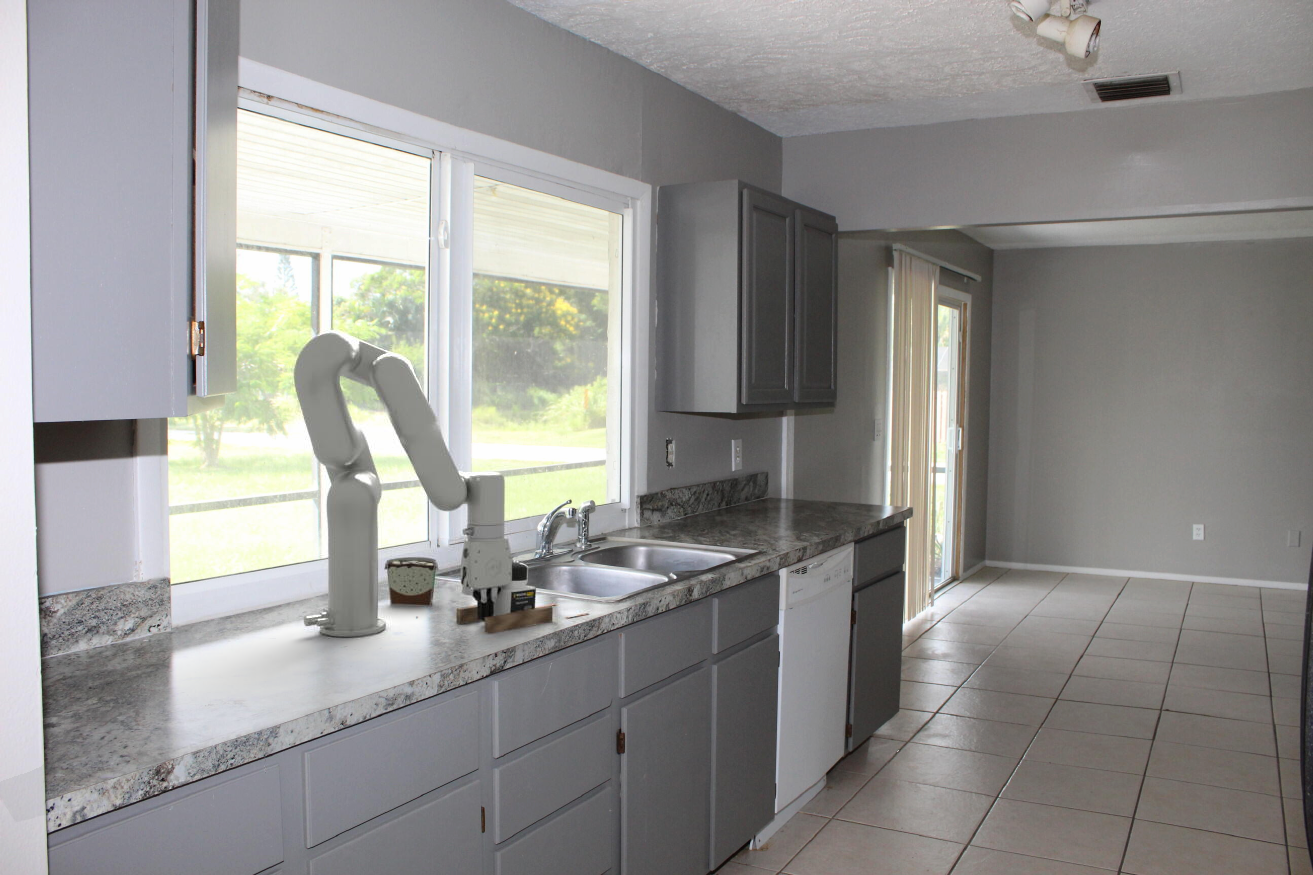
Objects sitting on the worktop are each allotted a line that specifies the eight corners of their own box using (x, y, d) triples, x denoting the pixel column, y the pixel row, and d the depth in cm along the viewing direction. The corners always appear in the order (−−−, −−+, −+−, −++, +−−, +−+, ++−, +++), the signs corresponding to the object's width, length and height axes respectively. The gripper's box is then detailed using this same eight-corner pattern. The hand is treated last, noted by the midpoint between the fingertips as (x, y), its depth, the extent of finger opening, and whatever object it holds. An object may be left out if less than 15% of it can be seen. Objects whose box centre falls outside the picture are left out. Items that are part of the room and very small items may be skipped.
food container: (446, 600, 219) (446, 557, 219) (437, 606, 213) (437, 562, 213) (394, 598, 221) (394, 555, 220) (384, 604, 214) (384, 560, 214)
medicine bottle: (510, 624, 196) (513, 566, 196) (486, 619, 201) (489, 562, 201) (535, 620, 202) (538, 564, 202) (511, 615, 206) (514, 560, 206)
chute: (488, 633, 190) (489, 618, 190) (456, 622, 199) (456, 608, 199) (552, 621, 202) (552, 607, 201) (519, 611, 210) (519, 597, 210)
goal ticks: (567, 618, 204) (567, 617, 204) (533, 608, 213) (533, 607, 213) (589, 614, 208) (589, 613, 208) (554, 604, 217) (554, 603, 217)
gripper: (464, 537, 188) (464, 629, 189) (526, 530, 198) (525, 617, 199) (444, 533, 193) (444, 622, 194) (505, 526, 204) (505, 611, 205)
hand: (485, 619), depth 197 cm, fingers closed
